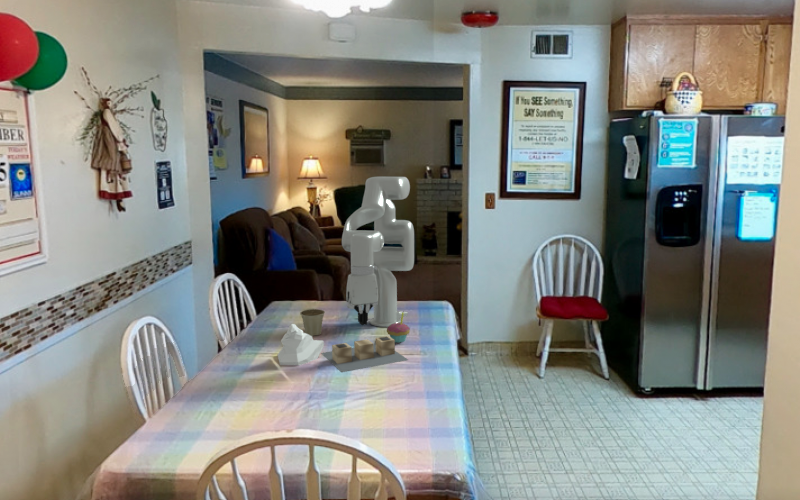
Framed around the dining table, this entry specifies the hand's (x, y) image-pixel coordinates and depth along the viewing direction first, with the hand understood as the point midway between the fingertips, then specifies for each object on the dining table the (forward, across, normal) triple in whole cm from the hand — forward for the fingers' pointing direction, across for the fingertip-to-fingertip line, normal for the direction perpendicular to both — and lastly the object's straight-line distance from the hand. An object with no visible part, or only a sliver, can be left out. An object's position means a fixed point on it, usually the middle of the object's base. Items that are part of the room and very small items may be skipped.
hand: (362, 323), depth 197 cm
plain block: (+12, 0, -1) cm, 12 cm away
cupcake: (+12, -19, -11) cm, 25 cm away
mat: (+12, -1, -1) cm, 12 cm away
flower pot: (+12, +6, -35) cm, 37 cm away
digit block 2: (+12, -9, -1) cm, 14 cm away
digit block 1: (+12, +8, -1) cm, 14 cm away
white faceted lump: (+13, +20, -9) cm, 26 cm away
